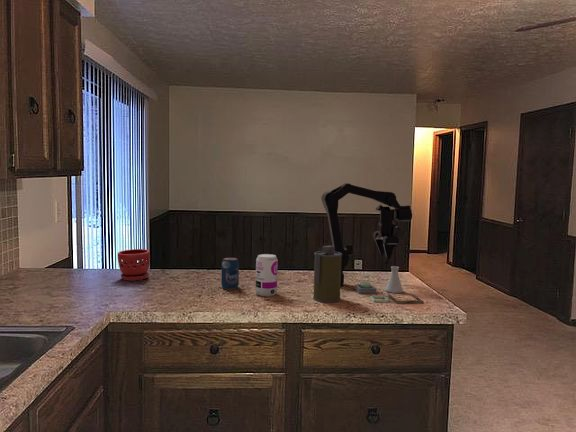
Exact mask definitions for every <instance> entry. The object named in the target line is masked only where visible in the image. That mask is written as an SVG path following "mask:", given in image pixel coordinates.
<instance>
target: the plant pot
mask: <svg viewBox="0 0 576 432" xmlns="http://www.w3.org/2000/svg"><path fill="white" fill-rule="evenodd" d="M150 258H151V255H150V250H149V249H146V248H145V249H144V248H143V249H142V248H140V249H139V248H137V249H136V248H134V249H126V250H125V249H124V250H120V251H117V263H118V267H119V270H120V272H121V274H120V278H121V279H122V280H124V281H128V282H129V281H132V282H135V281H141V280H144V279H147V278H148V277H149V276H150V272H149V271H148V270H149V267H150V263H151V262H150V260H151V259H150Z"/></svg>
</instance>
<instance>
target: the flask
mask: <svg viewBox="0 0 576 432" xmlns="http://www.w3.org/2000/svg"><path fill="white" fill-rule="evenodd" d="M390 268H391V273H390V277H389V280H388V281H387V283H386V286H385V288H384V290H385V291H386V292H387V293H393V294H401V293H403V292H404V290H403V286H402V283H401V280H400V276H399V269H400V267H399V266H394V265H392V266H390Z"/></svg>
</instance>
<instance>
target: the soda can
mask: <svg viewBox="0 0 576 432" xmlns="http://www.w3.org/2000/svg"><path fill="white" fill-rule="evenodd" d="M220 279H221V284H220V285H221V287H222V288H223V290H231V291H232V290H236V289H238V287H239V285H240V262H239V260H238V258H237V257H232V256H230V257H227V256H226V257H223V258H222V261H221V278H220Z"/></svg>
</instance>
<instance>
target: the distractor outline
mask: <svg viewBox="0 0 576 432" xmlns="http://www.w3.org/2000/svg"><path fill="white" fill-rule="evenodd" d="M369 299H370V300H371V301H372V302H373V303H390V302H391V299H390V298H389V297H388V296H386V295H370V296H369Z"/></svg>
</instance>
